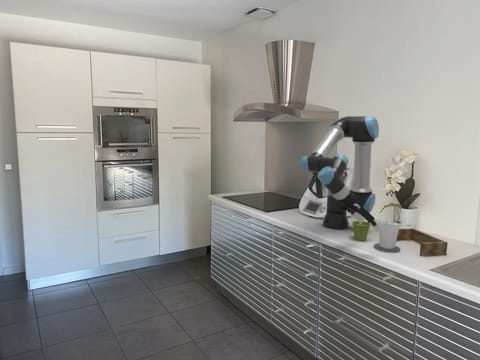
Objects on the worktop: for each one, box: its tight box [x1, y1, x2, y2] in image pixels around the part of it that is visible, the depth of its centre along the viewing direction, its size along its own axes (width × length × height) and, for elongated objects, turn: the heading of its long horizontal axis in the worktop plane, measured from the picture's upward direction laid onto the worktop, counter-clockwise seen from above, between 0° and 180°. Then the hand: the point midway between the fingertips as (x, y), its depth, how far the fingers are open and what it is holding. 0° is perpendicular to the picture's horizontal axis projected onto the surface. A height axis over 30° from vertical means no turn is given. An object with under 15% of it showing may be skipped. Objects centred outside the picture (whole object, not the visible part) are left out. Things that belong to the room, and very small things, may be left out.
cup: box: [378, 220, 400, 249], centre depth 171 cm, size 9×9×12 cm
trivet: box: [373, 243, 401, 253], centre depth 171 cm, size 12×12×1 cm
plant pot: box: [351, 220, 372, 241], centre depth 185 cm, size 9×9×9 cm
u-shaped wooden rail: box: [396, 228, 448, 257], centre depth 174 cm, size 14×24×6 cm, turn 11°
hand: (370, 225), depth 168 cm, fingers open, 13 cm apart
